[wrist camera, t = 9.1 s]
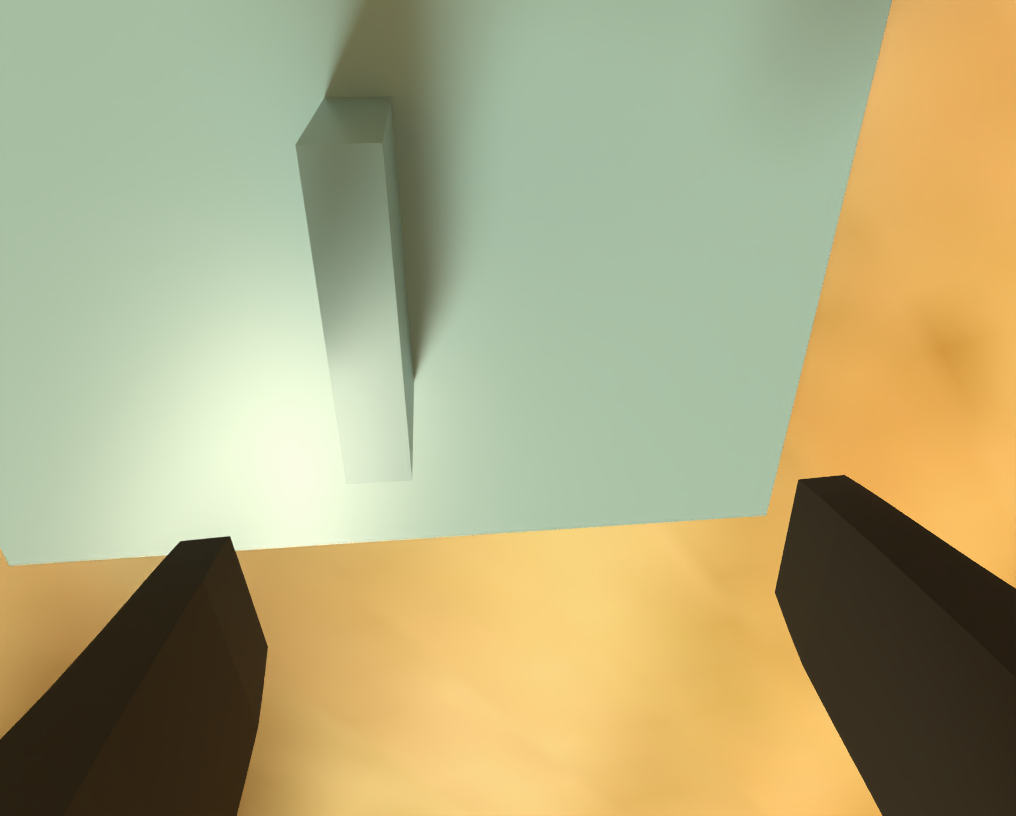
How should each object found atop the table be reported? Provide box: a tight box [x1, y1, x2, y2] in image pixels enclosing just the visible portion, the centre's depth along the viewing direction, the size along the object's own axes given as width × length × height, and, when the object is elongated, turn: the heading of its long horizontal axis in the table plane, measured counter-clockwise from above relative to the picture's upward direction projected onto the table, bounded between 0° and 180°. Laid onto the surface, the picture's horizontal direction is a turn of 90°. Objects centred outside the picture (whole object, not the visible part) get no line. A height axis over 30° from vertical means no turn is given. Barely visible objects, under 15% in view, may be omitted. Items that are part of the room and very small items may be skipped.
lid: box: [0, 0, 892, 566], centre depth 14 cm, size 19×15×5 cm
